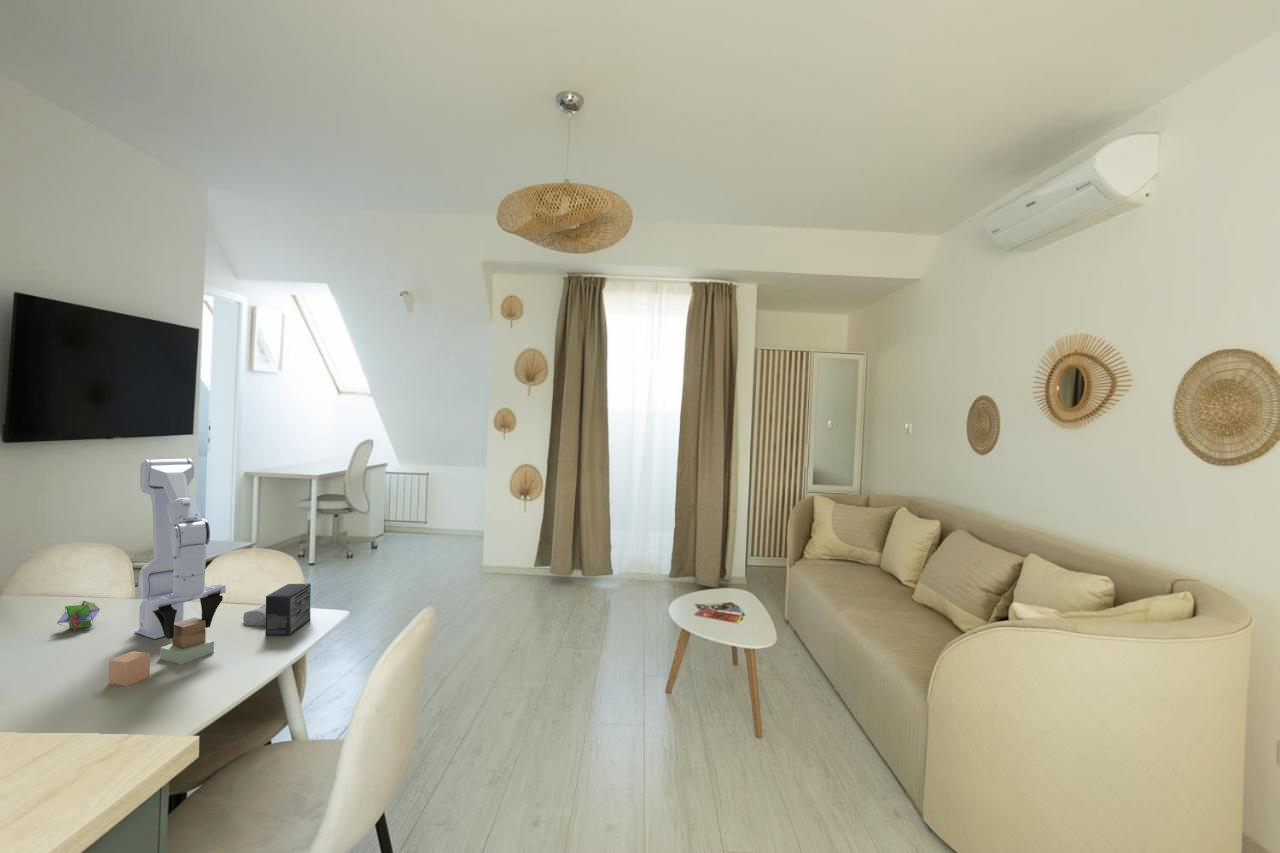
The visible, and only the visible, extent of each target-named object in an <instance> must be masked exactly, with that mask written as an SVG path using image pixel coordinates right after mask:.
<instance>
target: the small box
mask: <svg viewBox="0 0 1280 853" xmlns="http://www.w3.org/2000/svg"><path fill="white" fill-rule="evenodd" d="M311 588H312V587H311V583H287V584H286V585H284V586H282V587H280V588H279V589H276V590H274V591H273V592H272V593H269V594H267V595H266V596H265V605H266V626H265V629H264V630H265V631H264V632H265V633H264V634H265V637H285V636H286V637H290V636H292V635H293V634H295V633H296V632H298V630H300V629H301V628H303V627H304V626H306V624H309V623H310V622H311V621H312V620H311V590H312V589H311Z"/></svg>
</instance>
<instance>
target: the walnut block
mask: <svg viewBox="0 0 1280 853" xmlns="http://www.w3.org/2000/svg"><path fill="white" fill-rule="evenodd" d="M206 631H207V630H206V621H205V620H202V618H199V617H192V618H191V617H190V618H187V619H183V621H180V622H177V623H174V636H173V638H171V639H172V640H171V644H172V645H173V646H176V647H178V648H181V649H185V648H188V647H191V646H194V645H197V644H201V643H204V642H206V639H207V636H206Z"/></svg>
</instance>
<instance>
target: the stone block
mask: <svg viewBox="0 0 1280 853" xmlns="http://www.w3.org/2000/svg"><path fill="white" fill-rule="evenodd" d="M242 619H243V620H242V621H243V623H244V625H249V626H260V627H266V604H264V605H262V606H260V607H258V608H255V609H254V608H253V609H252V610H248V611H245V612H244V613H243V618H242Z"/></svg>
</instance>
